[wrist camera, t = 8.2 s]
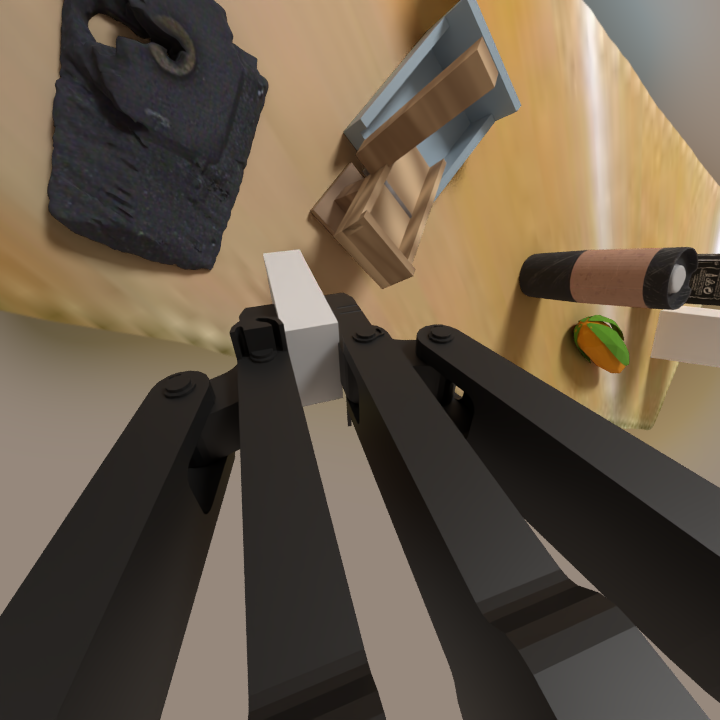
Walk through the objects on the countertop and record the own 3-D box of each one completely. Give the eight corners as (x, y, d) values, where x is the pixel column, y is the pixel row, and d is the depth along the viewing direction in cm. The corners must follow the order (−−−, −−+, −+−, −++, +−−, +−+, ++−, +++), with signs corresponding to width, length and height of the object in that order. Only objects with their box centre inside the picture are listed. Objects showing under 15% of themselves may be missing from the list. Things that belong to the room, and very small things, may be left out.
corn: (620, 308, 59) (651, 360, 70) (578, 301, 66) (611, 350, 76) (597, 343, 59) (631, 390, 70) (557, 333, 66) (593, 378, 76)
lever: (384, 293, 30) (526, 235, 22) (313, 216, 25) (456, 105, 17) (426, 181, 39) (538, 109, 30) (379, 109, 34) (495, 1, 26)
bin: (406, 216, 44) (443, 208, 38) (343, 132, 37) (375, 106, 31) (475, 126, 45) (521, 105, 39) (426, 32, 39) (471, -11, 33)
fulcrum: (351, 255, 41) (384, 253, 35) (310, 210, 38) (338, 199, 31) (385, 212, 42) (423, 202, 36) (347, 164, 38) (382, 144, 32)
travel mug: (511, 274, 55) (662, 278, 38) (538, 242, 56) (695, 231, 39) (528, 307, 59) (671, 323, 42) (552, 276, 60) (701, 280, 43)
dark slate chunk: (16, 217, 27) (-11, 209, 23) (81, -70, 25) (64, -134, 21) (214, 282, 35) (220, 284, 31) (275, 67, 33) (289, 39, 29)
